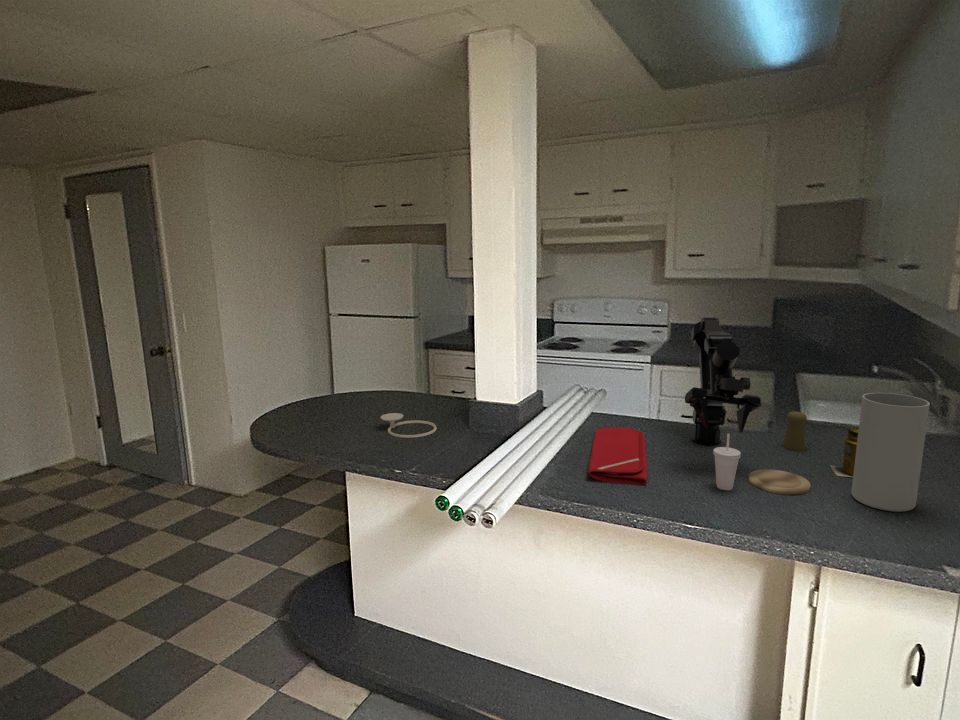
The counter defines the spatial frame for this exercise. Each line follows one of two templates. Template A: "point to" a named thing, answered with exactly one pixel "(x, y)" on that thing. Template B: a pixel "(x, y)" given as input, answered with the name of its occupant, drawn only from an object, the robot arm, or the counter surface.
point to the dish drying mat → (619, 456)
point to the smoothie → (726, 465)
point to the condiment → (848, 455)
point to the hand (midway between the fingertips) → (723, 429)
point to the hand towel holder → (396, 416)
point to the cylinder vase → (889, 451)
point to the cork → (795, 431)
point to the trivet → (779, 482)
